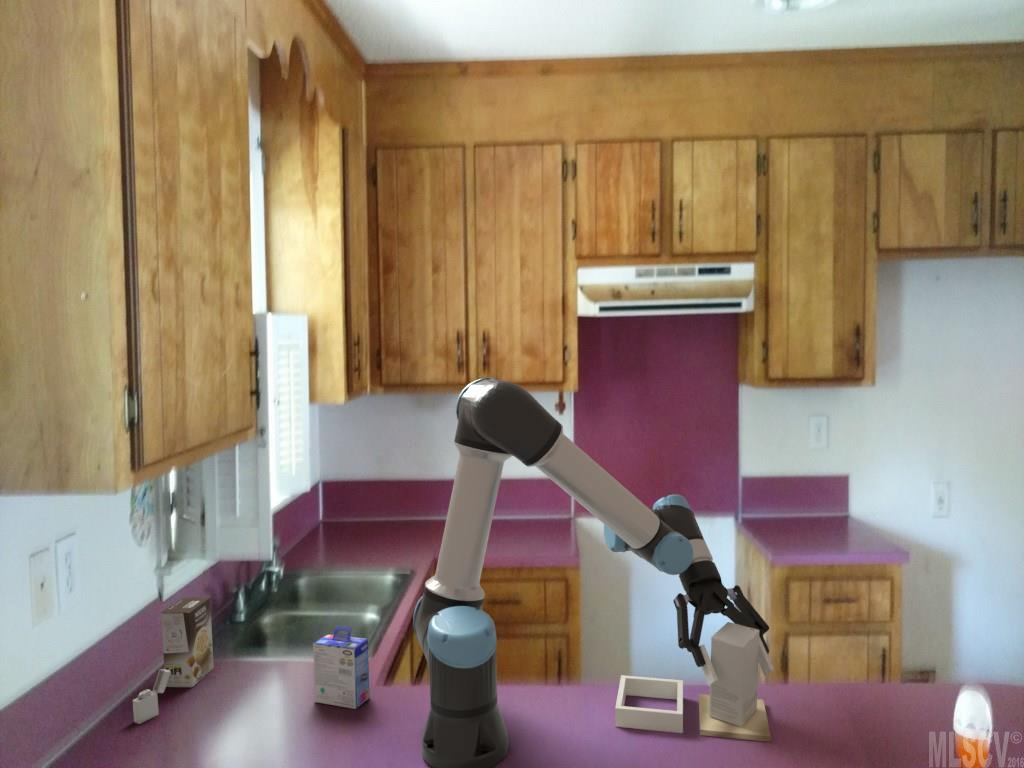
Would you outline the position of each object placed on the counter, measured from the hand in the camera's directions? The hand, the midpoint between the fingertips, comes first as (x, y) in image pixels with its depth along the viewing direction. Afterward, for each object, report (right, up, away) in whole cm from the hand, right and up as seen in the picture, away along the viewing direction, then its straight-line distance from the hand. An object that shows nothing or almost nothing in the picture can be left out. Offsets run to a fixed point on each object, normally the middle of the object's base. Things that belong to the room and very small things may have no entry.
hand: (741, 678), depth 134 cm
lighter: (-111, -11, +10) cm, 112 cm away
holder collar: (-15, -9, +7) cm, 19 cm away
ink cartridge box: (-75, -10, +14) cm, 77 cm away
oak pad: (-1, -9, +3) cm, 10 cm away
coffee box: (-110, -10, +25) cm, 114 cm away
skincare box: (0, -8, +3) cm, 9 cm away
